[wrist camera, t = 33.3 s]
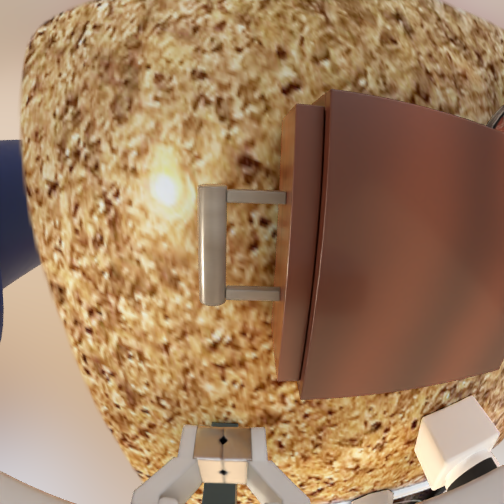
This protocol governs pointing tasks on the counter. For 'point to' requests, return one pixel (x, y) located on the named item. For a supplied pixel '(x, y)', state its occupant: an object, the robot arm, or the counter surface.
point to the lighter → (497, 120)
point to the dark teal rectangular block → (220, 485)
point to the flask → (376, 498)
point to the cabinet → (404, 250)
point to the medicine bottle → (456, 444)
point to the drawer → (288, 237)
